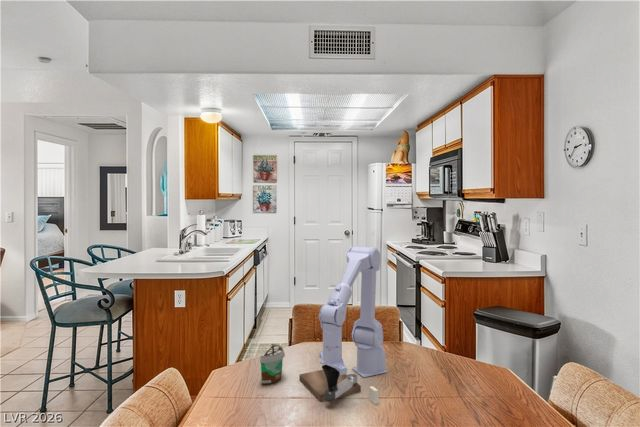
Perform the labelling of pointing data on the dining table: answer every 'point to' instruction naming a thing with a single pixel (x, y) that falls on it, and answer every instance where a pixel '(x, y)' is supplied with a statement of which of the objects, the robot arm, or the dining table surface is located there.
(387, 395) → the dining table surface
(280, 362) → the food container
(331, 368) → the robot arm
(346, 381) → the folding leg
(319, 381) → the stool seat
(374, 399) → the block
